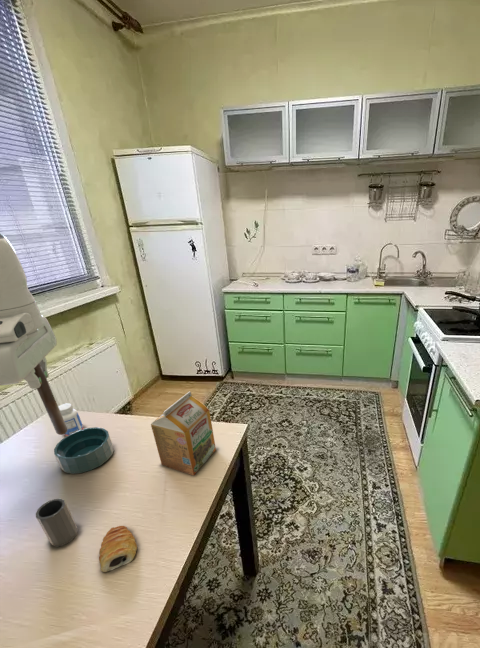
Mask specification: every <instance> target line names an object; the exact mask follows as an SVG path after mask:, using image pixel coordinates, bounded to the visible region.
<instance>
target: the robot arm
mask: <svg viewBox="0 0 480 648" xmlns="http://www.w3.org/2000/svg"><path fill="white" fill-rule="evenodd" d="M57 343H58V342H57V337H56V335H55V332H54V330H53V328H52V326H51V324H50V322H49V320H48V319H47V317H45V316H44V315H42V314H41V311H40V309H39V306H38V304H37V301H36V298H35V297H34V295H33V294H32V293H31V291H30V290H29V287H28V279H27V275H26V273H25V270H24V268H23V265H22V263H21V261H20V259H19V256H18V254H17V252H16V250H15V249H14V246H13V245H12V243H11V242H10V241H9V239H7V237H6V236H5V235H4V234H2V233H0V386H9V385H17V384H20V383H21V382H23V380H24V381H25V382H27V385H28V386H29V388H30V389H31V390H32V389H37V388H39V387H40V386H41V385H42V381H41V378H40V377H37V376H36V375H35V374H34V373H35V370H34V368H35V367H36V366H37V365H38V364H40V365H41V367H42V369H43V372H44V374H45V376H46V379H47V380H48V378H49V376H50V374H49V372H48V364H47V361H48V360H47V358H46V357H47V355H49V354H50V352H51V351H52V350H53V349H54V348H55V347H56V346H57V345H58V344H57Z"/></svg>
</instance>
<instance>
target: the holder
mask: <svg viewBox="0 0 480 648" xmlns="http://www.w3.org/2000/svg"><path fill="white" fill-rule="evenodd" d="M35 518H36V520H37V522H38V524H39V525H40V528H41V529H42V530H43V533H44V534H45V536H46V538H47V540H48V541H49V543H50V545H51V546H53V547H56V548H57V547H63V546H66V545H67V544H69V543H70V542H72V541H73V540H74V539H75V538H76V536H77V535H78V532H79V529H78V526H77V524H76V522H75V520H74V517H73V515H72V514H71V511H70V509H69V507H68V505H67V503H66V501H65V500H64V499H62V498H54V499H51V500H48V501H46V502H44V503H43V504H41V506H39V508H38V509H37V510H36V512H35Z"/></svg>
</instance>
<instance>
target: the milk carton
mask: <svg viewBox="0 0 480 648" xmlns="http://www.w3.org/2000/svg"><path fill="white" fill-rule="evenodd" d="M150 427H151V431H152V434H153V438H154V442H155V445H156V448H157V453H158V456H159V461H160V464H161V465H162V466H166V468H168V469H172V470H175V471H178V472H182V473H184V474H188V475H191V476H195V475H196V473H197V472H198V471H200V469H201V468H202V467H203V466H204V465H205V463H207V462H208V460H209V459H210V457H211V456H212V455H213V454H214V453H215V452H216V451H217V448H216V447H217V446H216V442H215V441H216V440H215V436H214V430H213V424H212V418H211V411H210V409H209V408H208V407H207V405H206V404H204V403H203V402H201V401H200V400H199V399H197V398H196V397H195V396H193V395H192V392H191V391H188V392H187V393H185V394H184V395H183V396H181V397H180V398H179V399H177V400H176V401H175V402H174V403H173V404H171V405H170V406H169V407H167V408H166V409H165V410H164V411H163V413H162V414H161V415H159V417H157V418H156V419H155V420H154V421H152V422H151V424H150Z"/></svg>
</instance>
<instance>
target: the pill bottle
mask: <svg viewBox="0 0 480 648" xmlns="http://www.w3.org/2000/svg"><path fill="white" fill-rule="evenodd" d="M58 407H59V410H60V412H61V414H62V417H63V419H64V422H65V424H66V426H67V432H66V433H65V434H64V436H65V437H66V436H68V435H70V434H72V433H74V432H76V431H79V430H82V429H85V428H84V425H83V422H82V419H81V418H80V415H79V412H78V410H77V409H76V408H74V407H73V404H72V403H67V402H66V403H62V404H60V405H58Z"/></svg>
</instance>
